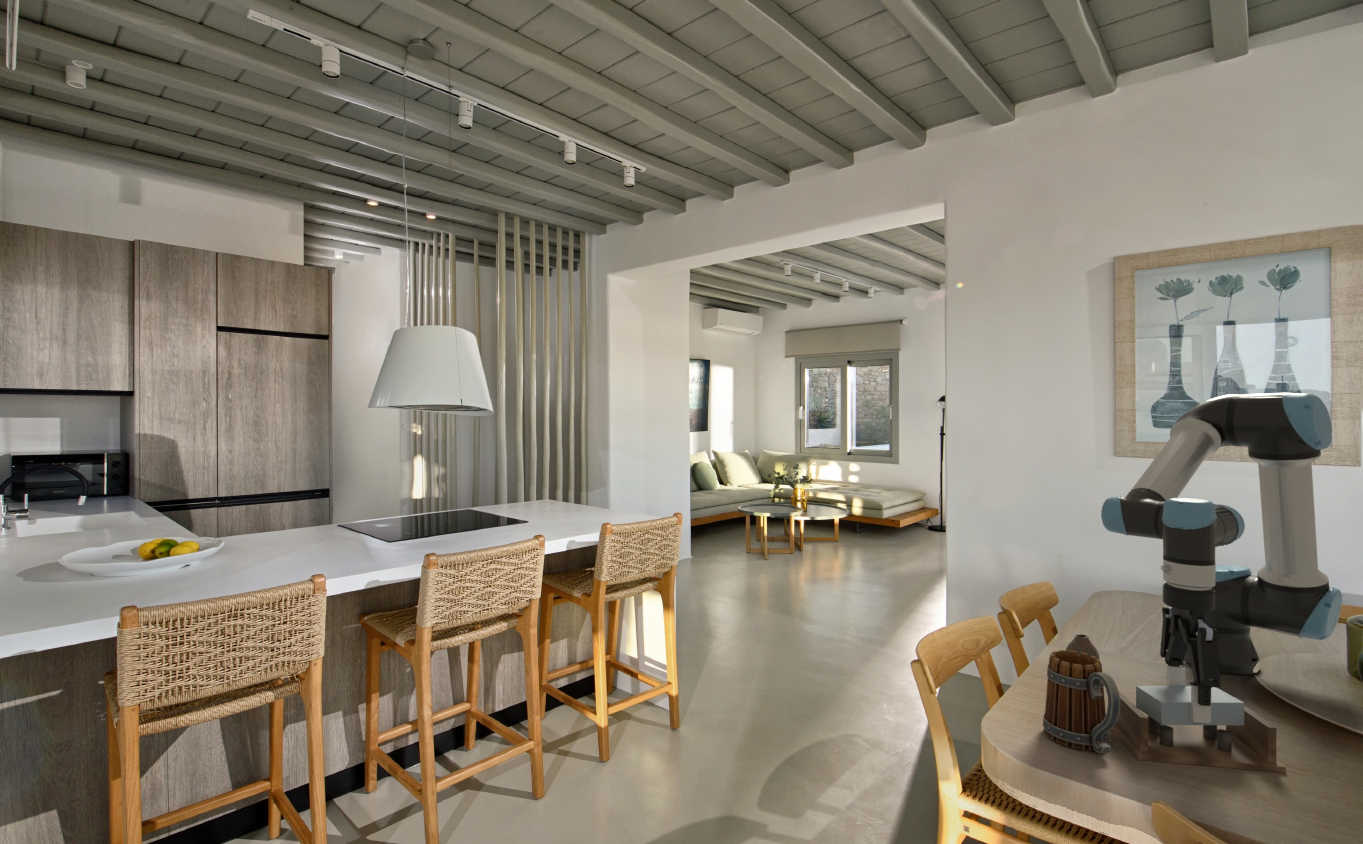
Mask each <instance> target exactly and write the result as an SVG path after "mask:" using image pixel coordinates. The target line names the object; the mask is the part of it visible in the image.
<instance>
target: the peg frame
mask: <svg viewBox="0 0 1363 844" xmlns="http://www.w3.org/2000/svg"><path fill="white" fill-rule="evenodd" d="M1118 691H1119V695H1120V711H1119V717H1118V720H1117V722H1116V724H1115V725H1114V726H1113V727H1112V728H1111V729H1110V731H1111V732H1112V733H1113V734H1114V735H1115V736H1116V737H1117V739H1118V740H1120V742H1121V743H1122V744H1123V745H1124V746H1125V747H1126V748H1127V750H1128V751H1130V753H1131V754H1132V755H1133V756H1134V757H1135V759H1137V760H1138V761H1147V762H1149V761H1150V762H1159V763H1171V764H1180V765H1181V764H1183V765H1194V766H1205V767H1216V768H1225V769H1226V768H1227V769H1238V770H1248V771H1249V770H1251V771H1260V772H1261V771H1262V772H1269V773H1270V772H1271V773H1281V774H1283V773H1284V774H1286V773H1287V767H1286V766H1285V765H1284V764H1283V763H1281V762H1280V761H1279V760H1278V759H1277V727H1276V726H1275V725H1273V724H1271V723H1270V722H1269V721H1267V720H1266V719H1264V718H1263V717H1261V716H1260V715H1259V714H1257V713H1255V712H1254V710H1253V711H1252V710H1251V709H1250V708H1249V707H1247V706H1245V705H1244V725H1225V726H1218V725H1161V724H1160V723H1158V722H1157V721H1155V720H1154V719H1152V718H1151V717H1149V716H1148V715H1146V714H1145V713H1144V712H1142V711H1141V710H1139V709H1138V708H1137V707H1136V704H1134V703H1133V702H1132V701H1131V700H1130V699H1128V697H1126V696H1125V694H1123V693H1122V692H1121V691H1120V690H1119V689H1118Z"/></svg>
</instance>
